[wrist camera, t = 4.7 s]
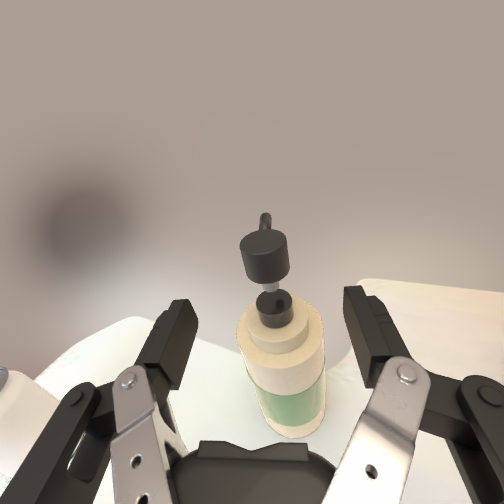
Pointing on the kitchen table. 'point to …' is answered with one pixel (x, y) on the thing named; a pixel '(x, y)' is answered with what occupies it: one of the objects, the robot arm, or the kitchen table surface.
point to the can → (21, 417)
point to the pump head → (265, 255)
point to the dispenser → (285, 361)
